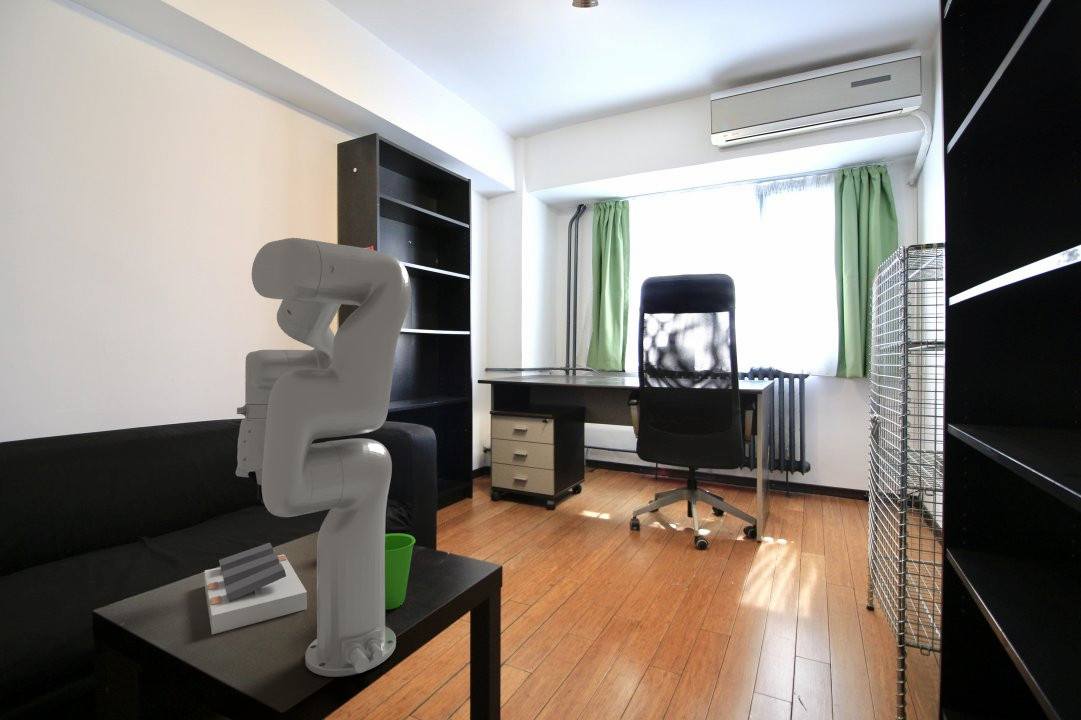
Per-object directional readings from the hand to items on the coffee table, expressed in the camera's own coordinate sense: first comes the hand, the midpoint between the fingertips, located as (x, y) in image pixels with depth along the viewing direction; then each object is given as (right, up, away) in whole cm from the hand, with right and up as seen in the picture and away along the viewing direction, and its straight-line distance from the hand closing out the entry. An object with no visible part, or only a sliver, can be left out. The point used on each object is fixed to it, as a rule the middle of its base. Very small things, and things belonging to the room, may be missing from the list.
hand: (266, 502), depth 103 cm
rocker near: (+6, -11, -14) cm, 18 cm away
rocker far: (-2, -11, -2) cm, 12 cm away
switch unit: (+3, -15, -9) cm, 18 cm away
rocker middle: (+2, -11, -8) cm, 14 cm away
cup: (+29, -15, -12) cm, 34 cm away
